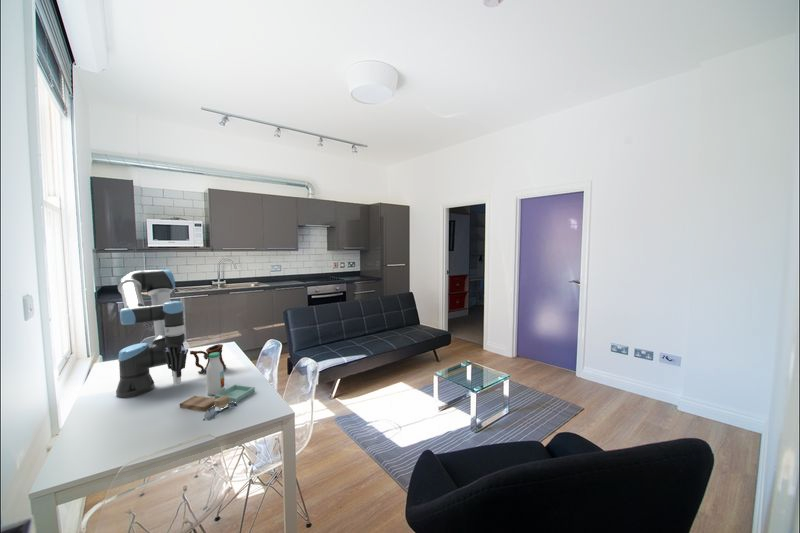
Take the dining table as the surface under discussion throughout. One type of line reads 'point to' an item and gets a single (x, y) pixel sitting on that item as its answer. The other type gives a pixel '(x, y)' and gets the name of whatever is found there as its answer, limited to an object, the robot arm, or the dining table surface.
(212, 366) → the milk bottle
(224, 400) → the block
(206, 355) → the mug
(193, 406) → the tan wooden board
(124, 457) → the dining table surface
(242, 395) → the tray
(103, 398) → the dining table surface
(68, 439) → the dining table surface
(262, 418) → the dining table surface
